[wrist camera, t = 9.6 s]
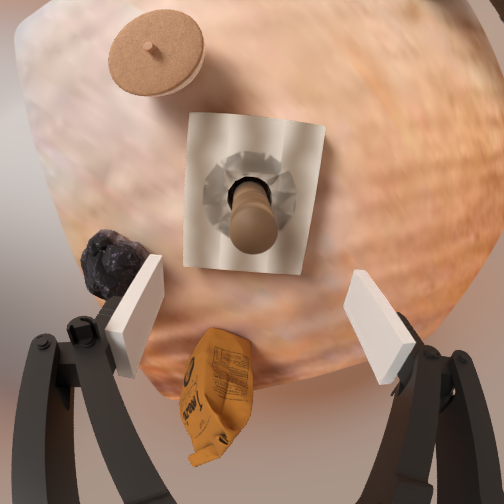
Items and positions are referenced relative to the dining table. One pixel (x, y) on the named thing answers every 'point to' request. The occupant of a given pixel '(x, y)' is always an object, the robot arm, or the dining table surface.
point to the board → (254, 165)
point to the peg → (252, 218)
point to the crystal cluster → (111, 264)
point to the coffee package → (216, 393)
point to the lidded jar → (157, 53)
